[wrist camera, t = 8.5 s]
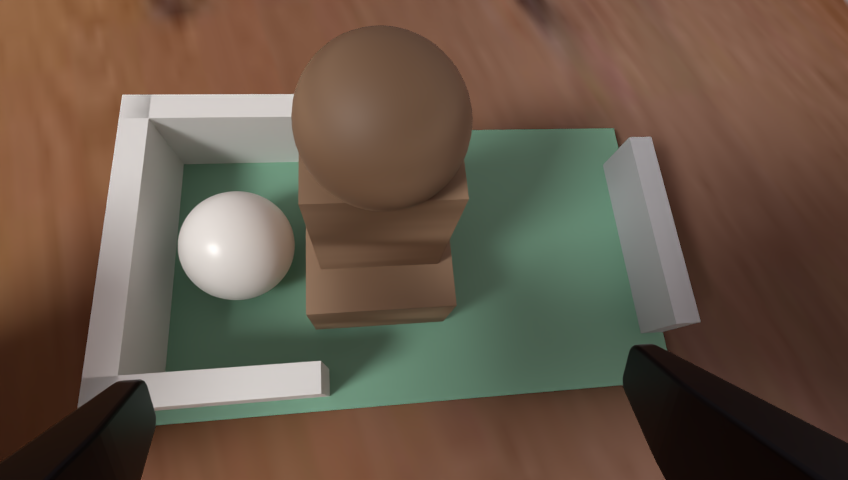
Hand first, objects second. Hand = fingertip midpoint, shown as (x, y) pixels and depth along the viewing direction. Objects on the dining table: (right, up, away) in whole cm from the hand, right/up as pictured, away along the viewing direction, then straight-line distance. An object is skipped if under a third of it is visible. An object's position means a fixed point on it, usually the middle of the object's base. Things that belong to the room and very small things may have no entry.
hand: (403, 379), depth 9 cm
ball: (-6, +2, +9) cm, 11 cm away
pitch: (0, +2, +12) cm, 12 cm away
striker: (-2, +2, +11) cm, 11 cm away
